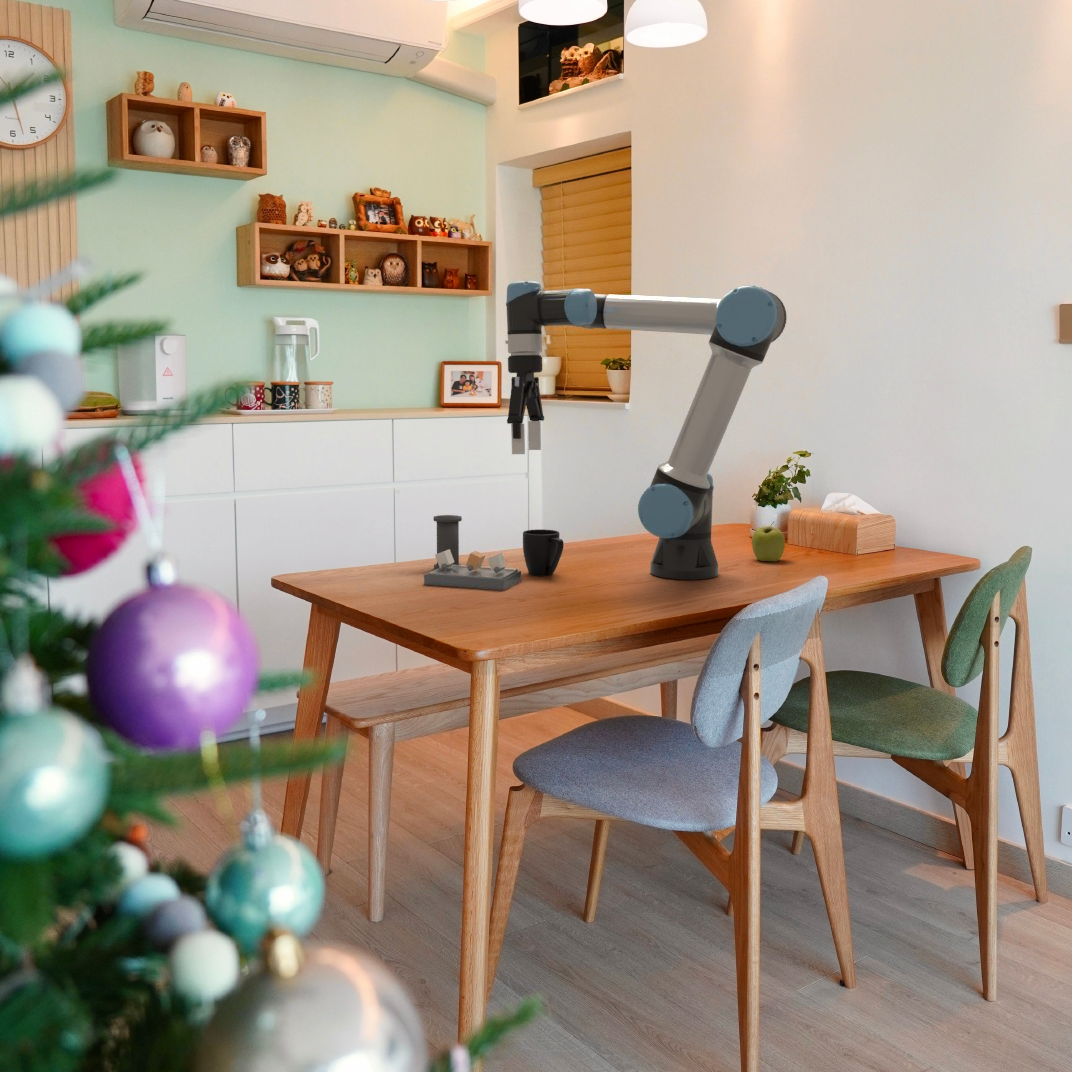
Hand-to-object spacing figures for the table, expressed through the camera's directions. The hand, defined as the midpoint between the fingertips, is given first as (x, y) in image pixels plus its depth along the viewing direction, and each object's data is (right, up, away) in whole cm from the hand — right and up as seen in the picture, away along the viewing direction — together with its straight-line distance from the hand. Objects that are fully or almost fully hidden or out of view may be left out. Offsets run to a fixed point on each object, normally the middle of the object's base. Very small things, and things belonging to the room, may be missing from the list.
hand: (526, 452), depth 236 cm
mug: (+4, -28, +2) cm, 28 cm away
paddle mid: (-11, -25, -7) cm, 29 cm away
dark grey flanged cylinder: (-18, -26, +9) cm, 33 cm away
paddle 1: (-17, -25, -6) cm, 31 cm away
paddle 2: (-6, -25, -9) cm, 28 cm away
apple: (+58, -25, +22) cm, 67 cm away
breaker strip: (-11, -29, -7) cm, 32 cm away
